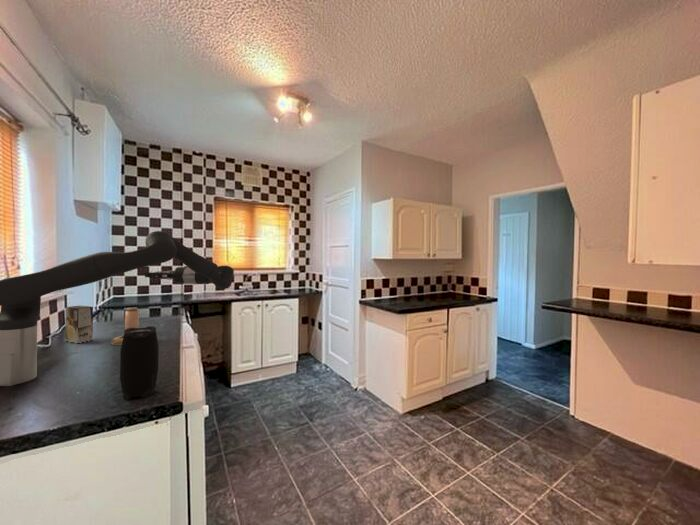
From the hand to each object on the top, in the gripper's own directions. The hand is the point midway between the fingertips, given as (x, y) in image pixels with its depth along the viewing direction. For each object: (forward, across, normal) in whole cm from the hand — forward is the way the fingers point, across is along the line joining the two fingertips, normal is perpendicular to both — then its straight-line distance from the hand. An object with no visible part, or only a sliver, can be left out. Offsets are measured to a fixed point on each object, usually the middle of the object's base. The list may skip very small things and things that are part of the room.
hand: (151, 274), depth 139 cm
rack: (+11, -6, +32) cm, 35 cm away
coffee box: (+34, -5, +33) cm, 48 cm away
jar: (+11, -6, +32) cm, 34 cm away
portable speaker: (-26, +50, +32) cm, 65 cm away
